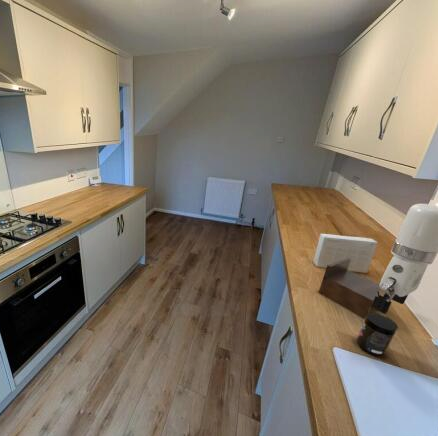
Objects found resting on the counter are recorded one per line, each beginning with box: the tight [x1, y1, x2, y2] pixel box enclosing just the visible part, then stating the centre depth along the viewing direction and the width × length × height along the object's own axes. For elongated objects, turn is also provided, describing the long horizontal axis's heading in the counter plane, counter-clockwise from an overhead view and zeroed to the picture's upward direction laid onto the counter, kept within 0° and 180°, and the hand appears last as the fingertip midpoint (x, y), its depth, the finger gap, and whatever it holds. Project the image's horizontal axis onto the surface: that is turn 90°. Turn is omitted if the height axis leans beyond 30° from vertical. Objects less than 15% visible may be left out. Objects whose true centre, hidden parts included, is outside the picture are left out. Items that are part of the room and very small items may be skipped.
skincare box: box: [312, 233, 379, 274], centre depth 112 cm, size 21×6×16 cm, turn 74°
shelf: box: [318, 258, 392, 320], centre depth 91 cm, size 16×14×13 cm
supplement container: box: [355, 312, 399, 357], centre depth 70 cm, size 7×7×10 cm
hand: (387, 305), depth 67 cm, fingers open, 9 cm apart
